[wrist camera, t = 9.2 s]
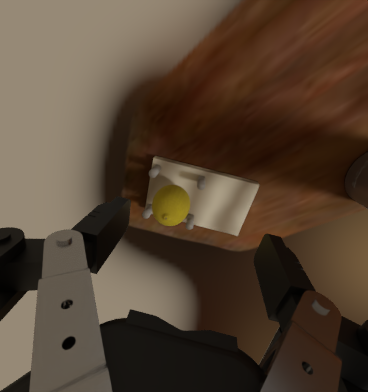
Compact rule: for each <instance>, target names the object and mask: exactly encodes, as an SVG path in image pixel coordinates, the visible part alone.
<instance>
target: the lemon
mask: <svg viewBox="0 0 368 392" xmlns="http://www.w3.org/2000/svg"><path fill="white" fill-rule="evenodd" d="M189 209H190V198H189V196H188V193H187V192H186V191H185V190H184V189H183V188H182V187H180V186H178V185H166V186H164V187H162V188H161V189H159V190H158V192H157V193H156V194H155V196H154V198H153V202H152V212H153V215H154V217H155V219H156V220H157V221H158V222H159V223H161V224H163V225H166V226H174V225H177V224H179V223H180V222H182V221H183V220H184V219H185V218H186V216H187V214H188V212H189Z"/></svg>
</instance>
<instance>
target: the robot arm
mask: <svg viewBox="0 0 368 392" xmlns="http://www.w3.org/2000/svg"><path fill="white" fill-rule="evenodd" d="M345 189H346V192H347V194H348V195H349V196H350V197H351V198H352V199H353V200H355V201H356V202H358V203H359V204H361V205H362V206H364V207H365V208H367V209H368V152H366V153H365V154H364V155H362V156H361V157H359V158H358V159H357V160H356V161H355V162H354V163H353V165H352V166H351V167H350V169H349V171H348V173H347V175H346V178H345ZM130 205H131V201H130V199H126V198H122V197H116V198H115V199H114V200H113V201H112V202H111V203H107V202H106V203H103V204H101V205H98V206H97V207H96V208H95V209H94V210H93V211H92V212H90V213H89V214H88V216H86V217H84V218H83V219H82V220H81V221H80V222H79V223H78V224H76V225H75V226H74V227H73V228H72V229H71V230H61V231H57V232H54V233H52V234H51V235H49V236H48V237H47V238H46V239H25V236H24V232H23V231H22V230H20V229H18V228H0V321H1V320H2V319H3V318H4V317H5V316H6V314H7V313H8V312H9V311H10V310H11V309H12V308H13V307H14V305H16V303H17V302H18V301H19V300H20V299H21V298H22V297H23V296H24V294H26V292H27V291H29V290H38V292H37V304H36V317H35V329H34V341H33V353H32V366H31V371H29V372H28V373H26V374H25V375H23V376H22V377H21V378H19V379H18V380H16V381H15V382H13V383H12V384H10V385H9V386H7V387H6V388H4V389H3V390H1V391H0V392H368V320H367V321H365V322H364V323H363V324H362V325H359V324H356V323H355V322H352V321H351V320H348V319H347V318H345V317H343V316H341V314H340V311H339V310H338V308H337V307H336V306H335V305H334V303H333V302H331V301H330V300H329V299H328V298H326V297H325V296H323V295H322V294H320V293H318V292H316V291H315V289H314V287H313V286H312V284H311V282H310V280H309V278H308V276H307V275H306V273H305V272H304V270H303V268H302V266H301V264H300V262H299V260H298V259H297V257H296V255H295V254H294V253H293V252H292V251H291V250H290V249H289V248H287V247H286V246H285V244H284V242H283V240H282V238H281V237H279V236H275V235H271V234H265V235H264V237H263V239H262V241H261V243H260V245H259V247H258V249H257V251H256V253H255V256H254V266H255V269H256V273H257V277H258V281H259V284H260V288H261V292H262V296H263V300H264V303H265V307H266V311H267V315H268V318H269V320H273V321H277V322H279V324H280V327H279V328H278V330H277V332H276V333H275V335H274V337H273V339H272V341H271V343H270V345H269V347H268V349H267V350H266V352H265V354H264V356H263V358H262V360H261V362H260V364H259V365H258V364H257V363H256V362H255V361H254V360H253V359H252V358H251V357H250V356H248V355H247V354H246V353H245V352H243V351H242V350H240V349H239V348H238V346H237V338H236V337H234V336H230V335H226V334H222V333H219V332H215V331H211V330H207V331H206V330H204V331H203V330H201V331H182V330H180V329H178V328H176V327H174V326H173V325H171V324H169V323H167V322H166V321H164V320H162V319H160V318H159V317H157V316H153V315H150V314H146V313H143V312H139V311H135V310H130V312H129V314H128V317H127V318H121V319H115V320H111V321H108V322H105V323H103V324H100V325H99V320H98V315H97V309H96V303H95V297H94V291H93V285H92V280H91V274H90V272H91V273H95V274H97V273H98V271H99V270H100V268H101V267H102V265H103V264H104V262H105V261H106V260H107V258H108V257H109V255H110V254H111V252H112V251H113V249H114V248H115V246H116V245H117V243H118V242H119V241H120V239H121V238H122V236H123V235H124V233H125V232H126V230H127V227H128V224H129V216H130Z"/></svg>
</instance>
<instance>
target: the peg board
mask: <svg viewBox="0 0 368 392" xmlns="http://www.w3.org/2000/svg"><path fill="white" fill-rule="evenodd" d="M149 176H150V182H149V188H148V194H147V200H146V207H145V210H144V212H143V213H142V216H143V218H146V219H147V218H149V216H150V214H153V212H152V202H153V198H154V196H155V194H156V193H157V192H158V190H159V189H161V188H162V187H164V186H166V185H178V186H180V187H182V188H183V189H184V190H185V191H186V192H187V193H188V196H189V198H190V209H189V212H188V214H187V216H186V218H185V219H184V220H183V221H182V222H186V228H187V229H189V230H190V229H192V228H193V225H197V226H201V227H205V228H209V229H213V230H217V231H221V232H225V233H229V234H233V235H236V236H238V234H239V231H240V229H241V227H242V224H243V222H244V220H245V218H246V215H247V213H248V211H249V208H250V206H251V204H252V202H253V199H254V197H255V195H256V192H257V190H258V188H259V183H258V182H257V181H253V180H249V179H245V178H241V177H237V176H233V175H229V174H225V173H221V172H217V171H214V170H210V169H206V168H202V167H198V166H194V165H190V164H186V163H182V162H178V161H174V160H171V159H167V158H163V157H159V156H155V157H154V158H153V163H152V169H151V170H150V171H149Z"/></svg>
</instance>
